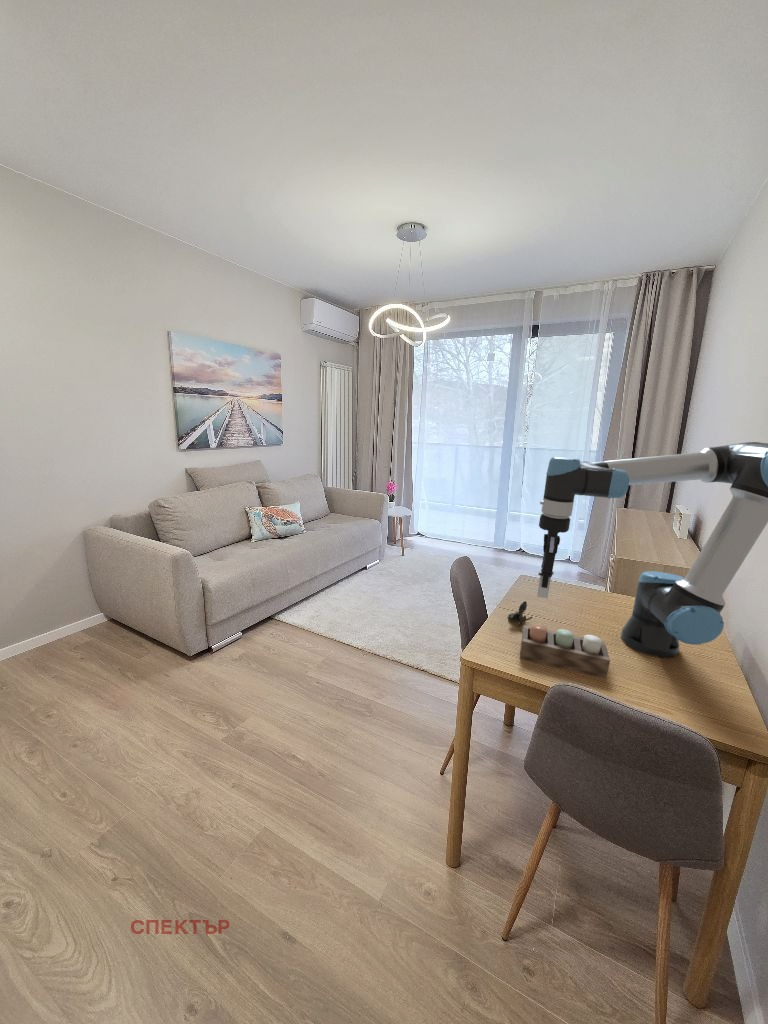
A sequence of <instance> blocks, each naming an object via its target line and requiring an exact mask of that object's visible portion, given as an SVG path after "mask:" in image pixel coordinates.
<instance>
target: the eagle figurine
mask: <svg viewBox="0 0 768 1024" xmlns="http://www.w3.org/2000/svg"><path fill="white" fill-rule="evenodd" d="M527 603H528V602H527V601H523V602H522V603H521V604H520V606H519V608H518V611H516V612H512V613H509V614H508V615H507V616H508V617H509V618H510V619H513V618H515V619H516V622H517V623H519V624H518V628H521V626H522V625H523V624H524V623H525V624H526V621H530V620H532V619H533V616H530V617H528V618H527V616H526V615H523V614H524V613H525V611H526V610H527V606H528V604H527Z"/></svg>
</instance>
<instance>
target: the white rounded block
mask: <svg viewBox="0 0 768 1024" xmlns="http://www.w3.org/2000/svg"><path fill="white" fill-rule="evenodd" d="M583 637H584V640H583V645H582V651H583V652H587V653H592V654H596V655H599V653H600V648H601V643H602V641H603V640H602V639H601V638H600V637H599V636H596V635H593V634H585V635H583Z"/></svg>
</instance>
